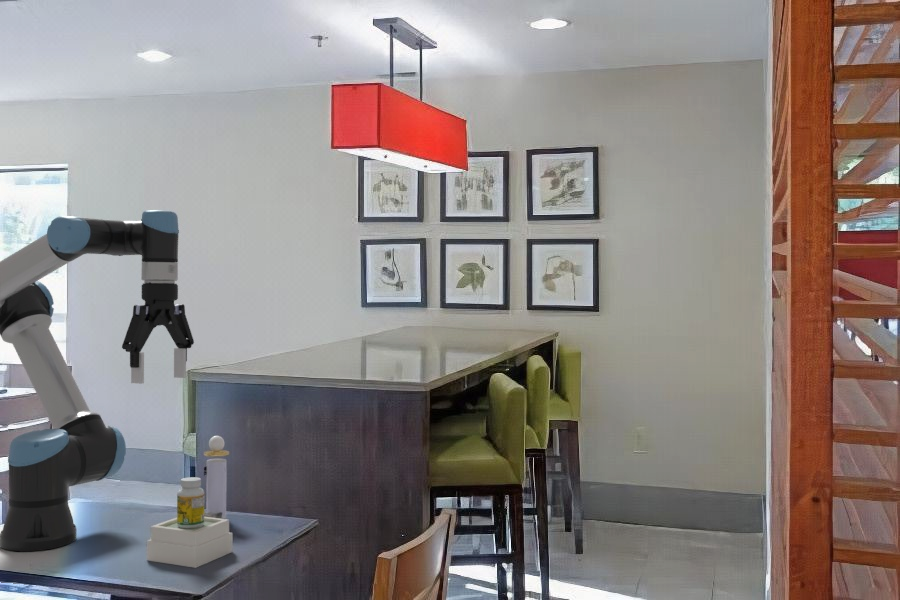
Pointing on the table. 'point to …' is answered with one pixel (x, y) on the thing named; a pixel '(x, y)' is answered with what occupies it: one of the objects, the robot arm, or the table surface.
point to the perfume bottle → (216, 477)
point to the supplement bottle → (190, 504)
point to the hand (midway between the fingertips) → (159, 380)
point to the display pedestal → (189, 542)
